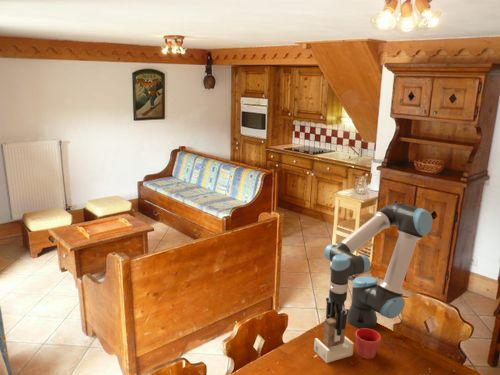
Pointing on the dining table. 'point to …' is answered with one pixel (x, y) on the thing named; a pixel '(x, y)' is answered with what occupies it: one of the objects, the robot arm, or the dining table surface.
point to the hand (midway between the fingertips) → (334, 338)
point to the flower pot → (367, 342)
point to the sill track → (334, 350)
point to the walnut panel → (332, 333)
